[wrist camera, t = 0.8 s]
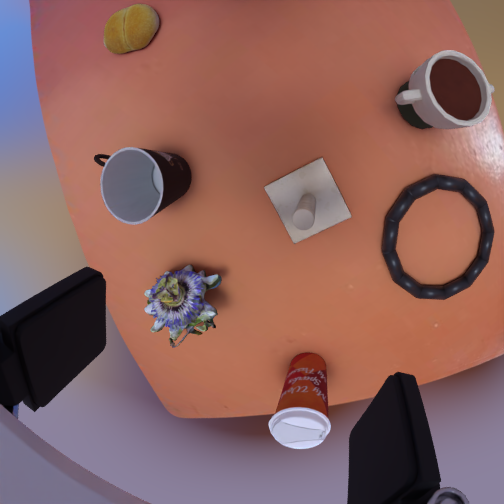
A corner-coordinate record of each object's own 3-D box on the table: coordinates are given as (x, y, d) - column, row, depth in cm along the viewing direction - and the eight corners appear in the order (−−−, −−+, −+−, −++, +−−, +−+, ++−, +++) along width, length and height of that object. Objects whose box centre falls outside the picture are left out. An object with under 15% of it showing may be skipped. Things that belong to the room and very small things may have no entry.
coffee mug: (211, 183, 40) (178, 194, 31) (166, 219, 43) (127, 238, 34) (164, 116, 38) (121, 111, 29) (123, 156, 41) (78, 161, 32)
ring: (362, 207, 37) (363, 209, 35) (468, 156, 31) (474, 156, 29) (404, 313, 40) (407, 319, 38) (498, 265, 34) (504, 270, 32)
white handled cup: (446, 74, 28) (492, 49, 16) (461, 127, 30) (514, 122, 18) (370, 83, 31) (393, 53, 19) (386, 138, 33) (418, 133, 21)
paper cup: (333, 346, 44) (332, 415, 31) (331, 384, 46) (328, 451, 33) (281, 346, 46) (264, 413, 33) (283, 383, 48) (268, 449, 35)
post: (265, 186, 39) (243, 200, 28) (322, 156, 36) (322, 159, 25) (294, 241, 40) (284, 274, 30) (351, 214, 37) (361, 240, 27)
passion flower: (203, 258, 50) (217, 255, 38) (225, 321, 50) (245, 336, 39) (137, 280, 46) (130, 284, 35) (160, 344, 47) (161, 367, 35)
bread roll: (160, 45, 35) (146, 38, 31) (110, 59, 37) (94, 54, 33) (163, 0, 32) (150, -10, 29) (114, 16, 34) (99, 9, 30)
